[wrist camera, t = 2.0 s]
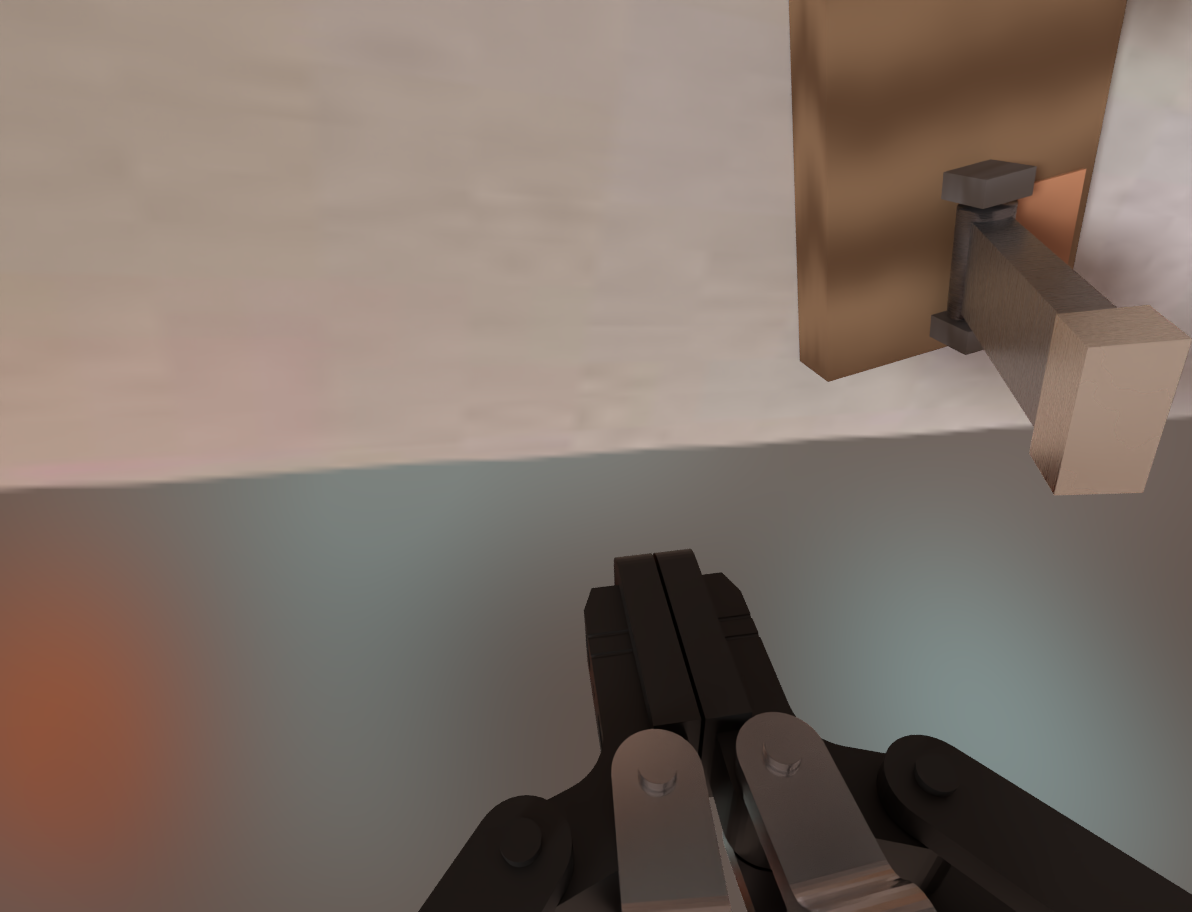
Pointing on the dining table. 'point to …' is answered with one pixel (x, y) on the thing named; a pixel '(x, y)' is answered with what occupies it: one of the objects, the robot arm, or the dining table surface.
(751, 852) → the robot arm
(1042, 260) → the outer lever
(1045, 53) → the switch base
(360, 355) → the dining table surface
